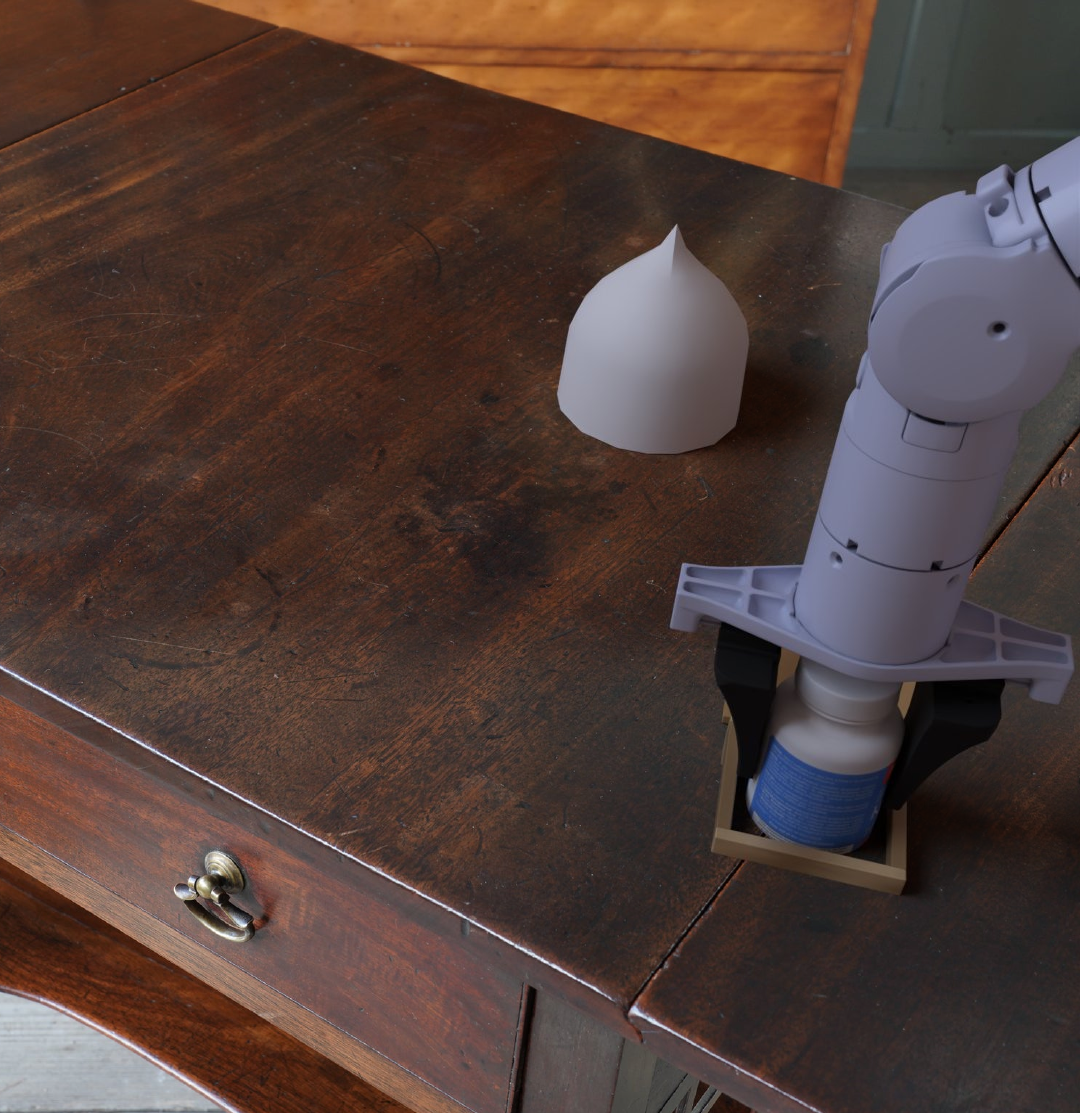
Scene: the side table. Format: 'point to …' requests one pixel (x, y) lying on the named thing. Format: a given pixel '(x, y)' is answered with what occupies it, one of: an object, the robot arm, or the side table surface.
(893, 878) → the frame
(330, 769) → the side table surface
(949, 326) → the robot arm
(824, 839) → the pill bottle
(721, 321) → the teardrop
